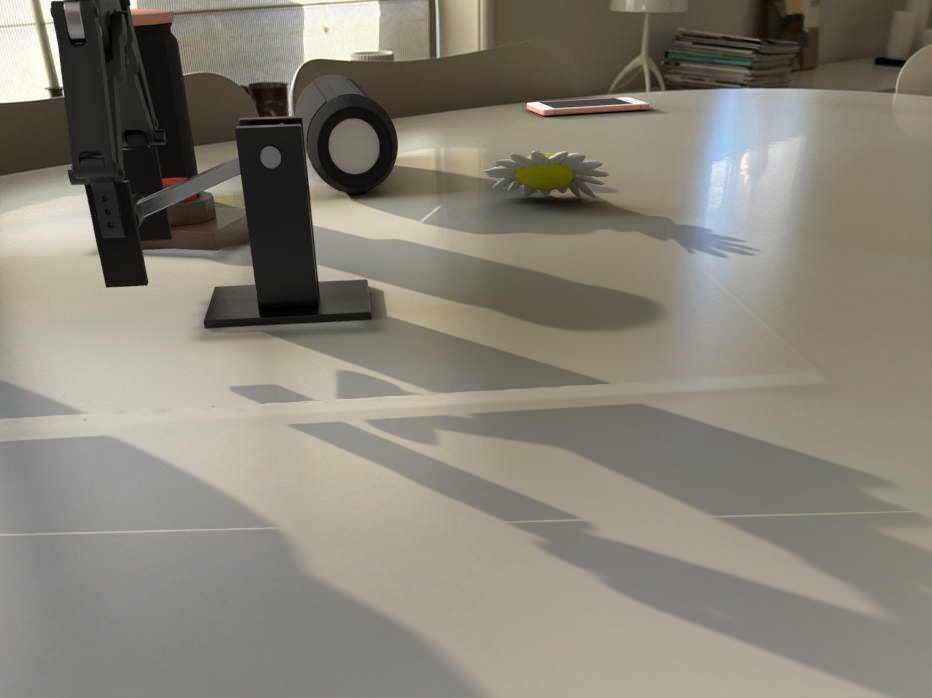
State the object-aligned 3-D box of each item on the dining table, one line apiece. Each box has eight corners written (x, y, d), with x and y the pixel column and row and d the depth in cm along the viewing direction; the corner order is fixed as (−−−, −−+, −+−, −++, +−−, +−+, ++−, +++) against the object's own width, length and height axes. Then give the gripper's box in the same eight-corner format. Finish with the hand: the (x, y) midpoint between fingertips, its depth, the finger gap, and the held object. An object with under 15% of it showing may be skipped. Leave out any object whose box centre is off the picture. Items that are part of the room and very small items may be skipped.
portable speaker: (403, 196, 117) (398, 94, 111) (313, 201, 115) (303, 99, 109) (374, 157, 137) (368, 70, 132) (297, 161, 136) (288, 73, 130)
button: (145, 205, 97) (141, 185, 96) (165, 196, 100) (162, 176, 99) (185, 207, 96) (182, 186, 95) (204, 198, 100) (201, 178, 99)
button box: (97, 252, 98) (88, 206, 95) (149, 227, 106) (142, 184, 103) (218, 258, 95) (211, 211, 93) (261, 232, 103) (256, 188, 101)
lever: (125, 242, 74) (106, 208, 73) (136, 226, 78) (118, 194, 77) (297, 165, 73) (281, 129, 71) (299, 153, 77) (284, 119, 75)
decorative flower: (478, 186, 131) (484, 202, 104) (479, 143, 129) (486, 148, 102) (580, 190, 132) (612, 207, 105) (583, 147, 130) (617, 153, 103)
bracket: (205, 337, 76) (173, 134, 69) (216, 301, 84) (188, 115, 76) (372, 328, 77) (357, 128, 70) (368, 294, 85) (355, 110, 77)
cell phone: (650, 109, 169) (650, 103, 168) (543, 116, 165) (543, 109, 164) (628, 103, 176) (628, 96, 176) (525, 109, 172) (525, 102, 172)
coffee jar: (146, 192, 121) (114, 8, 111) (222, 199, 117) (195, 9, 107) (79, 211, 113) (37, 15, 103) (157, 219, 109) (122, 16, 99)
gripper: (100, -105, 55) (173, 306, 67) (162, -93, 76) (209, 221, 88) (-49, -103, 55) (52, 312, 67) (54, -91, 75) (117, 225, 87)
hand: (141, 261), depth 77 cm, fingers open, 12 cm apart
